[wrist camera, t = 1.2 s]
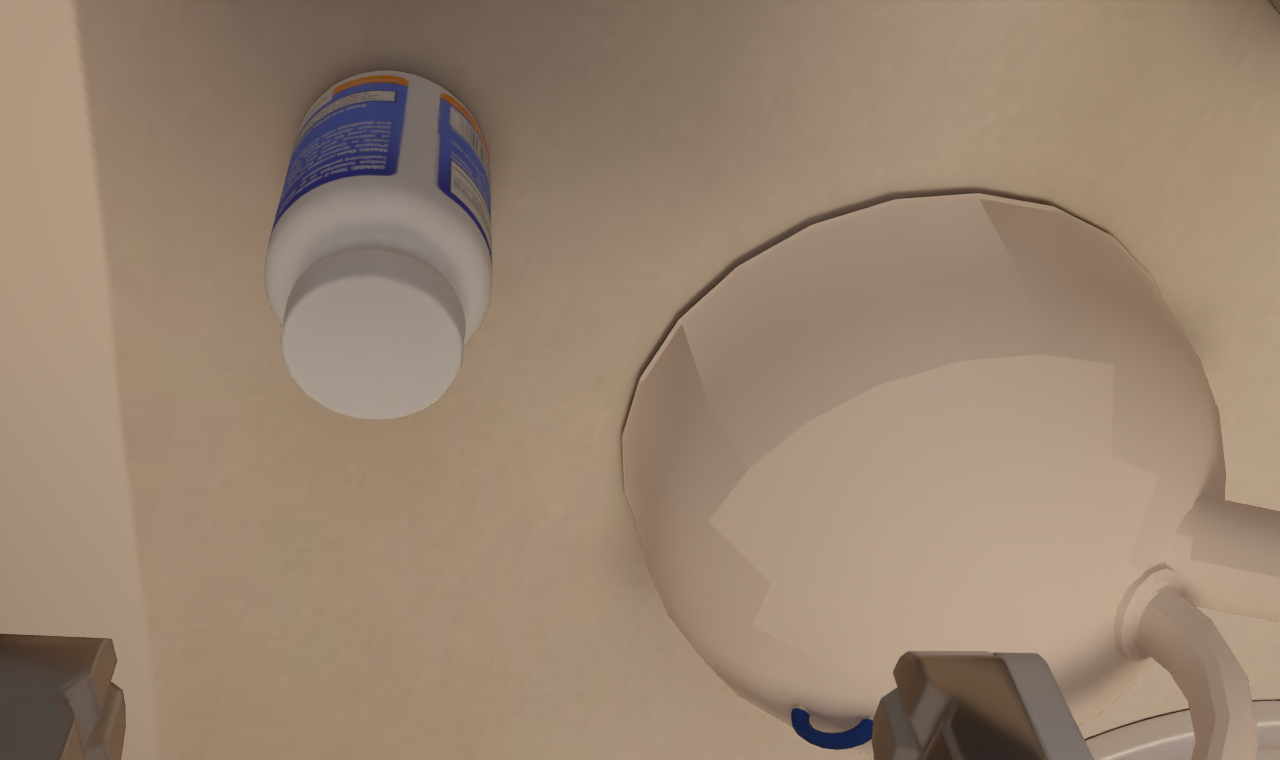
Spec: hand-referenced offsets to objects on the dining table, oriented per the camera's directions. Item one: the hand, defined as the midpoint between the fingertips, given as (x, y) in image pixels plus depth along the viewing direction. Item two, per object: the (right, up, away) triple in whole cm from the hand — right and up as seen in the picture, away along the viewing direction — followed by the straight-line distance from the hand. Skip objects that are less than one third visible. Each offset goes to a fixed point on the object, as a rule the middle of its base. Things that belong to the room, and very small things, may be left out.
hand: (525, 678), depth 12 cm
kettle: (+11, +1, +30) cm, 32 cm away
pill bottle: (-6, +10, +21) cm, 24 cm away
